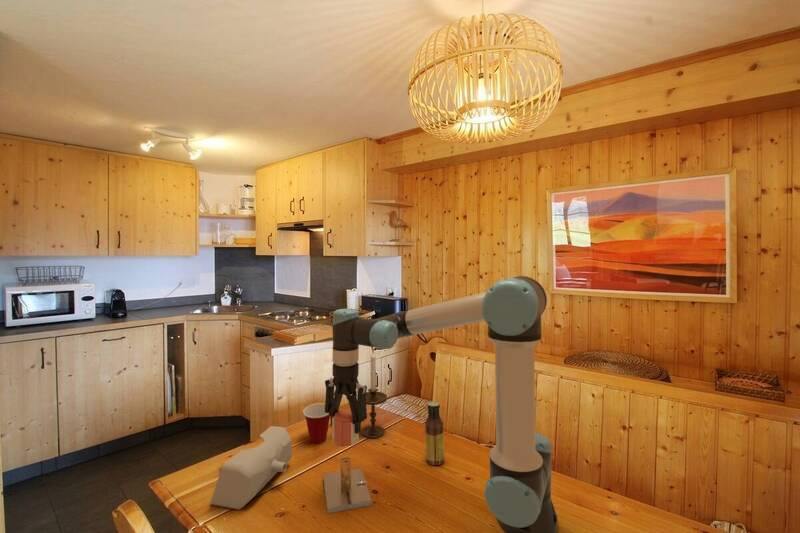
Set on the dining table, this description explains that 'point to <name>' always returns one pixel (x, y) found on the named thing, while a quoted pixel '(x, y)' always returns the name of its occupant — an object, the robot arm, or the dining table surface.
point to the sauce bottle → (434, 435)
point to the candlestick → (373, 405)
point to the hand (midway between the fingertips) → (345, 440)
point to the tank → (252, 469)
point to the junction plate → (340, 495)
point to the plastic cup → (317, 422)
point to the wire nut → (343, 427)
